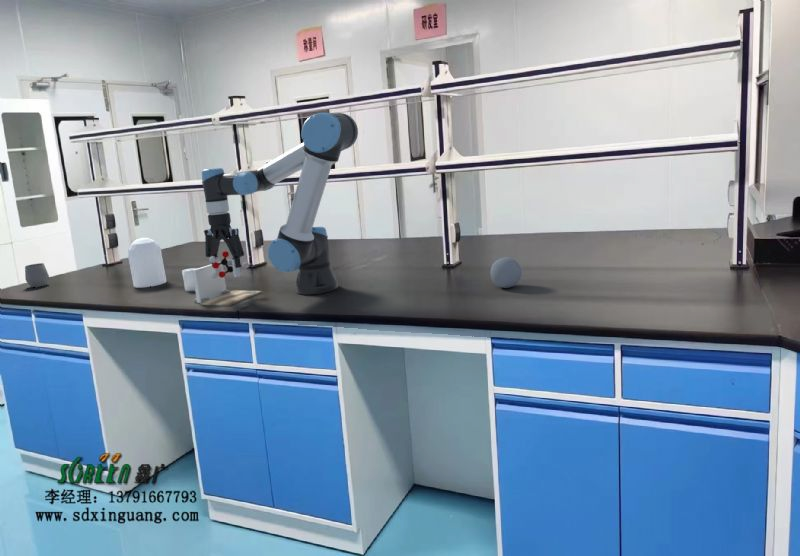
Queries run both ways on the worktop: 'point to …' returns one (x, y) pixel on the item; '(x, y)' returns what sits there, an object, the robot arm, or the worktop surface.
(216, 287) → the occluder screen
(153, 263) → the container
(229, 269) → the molecular model
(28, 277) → the cup
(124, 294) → the worktop surface
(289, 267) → the robot arm
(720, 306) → the worktop surface
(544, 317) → the worktop surface
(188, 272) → the white upright block
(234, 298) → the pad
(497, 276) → the decorative stone
